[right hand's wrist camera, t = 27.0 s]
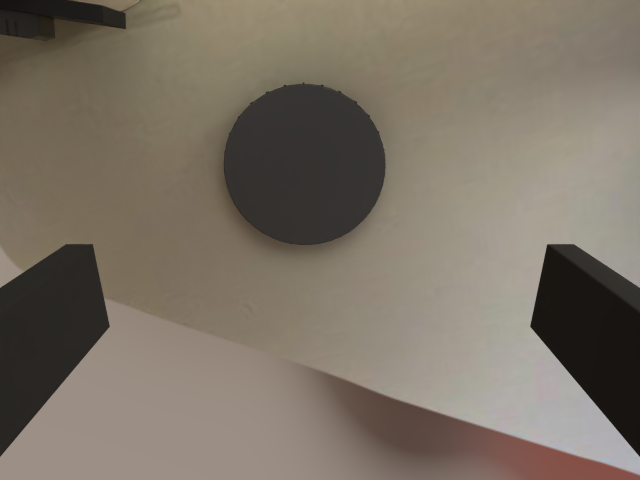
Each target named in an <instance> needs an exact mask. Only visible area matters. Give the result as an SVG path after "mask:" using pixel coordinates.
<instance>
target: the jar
mask: <svg viewBox="0 0 640 480" xmlns="http://www.w3.org/2000/svg"><path fill="white" fill-rule="evenodd" d="M71 1H78V2H84V3H91V4H98V5H103V6H106V7H109V8H112V9H114V10H117V11H123V10H125V9H127V8H129V7H131V6H133V5H135V4H136V3H137V2H138V1H140V0H71Z"/></svg>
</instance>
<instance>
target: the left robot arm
mask: <svg viewBox="0 0 640 480" xmlns="http://www.w3.org/2000/svg"><path fill="white" fill-rule="evenodd" d="M54 18H55V19H62V20H68V21H75V22H82V23H89V24H95V25H102V26H109V27H116V28H122V29H126V18H125V13H123V12H120V11H117V10H114V9H112V8H109V7H106V6H103V5H98V4H91V3H84V2H78V1H71V0H0V34H2V35H9V36H16V37H23V38H30V39H37V40H44V41H46V40H50V39H53V38H55V31H54Z"/></svg>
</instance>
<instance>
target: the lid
mask: <svg viewBox="0 0 640 480" xmlns="http://www.w3.org/2000/svg"><path fill="white" fill-rule="evenodd" d="M250 104H251V105H250V106H248V108H247V109H246V110H245V111H244V112H243V113H242V114H241V115H240V116H239V117H238V120H237V121H236V123H235V124H234V126H233V128H232V130H231V132H230V133H229V138H228V141H227V144H226V149H225V155H224V172H225V179H226V184H227V187H228V190H229V193H230V196H231V198H232V200H233V202H234V204H235V205H236V207H237V208H238V210H239V211H240V213H241V214H242V215H243V216H244V217H245V219H246V220H247V221H248V222H249V223H251V224H252V225H253V226H254V227H255V228H256V229H258V230H259V231H261V232H262V233H264V234H266V235H268V236H270V237H272V238H274V239H277V240H279V241H282V242H286V243H291V244H299V245H312V244H320V243H324V242H328V241H331V240H334V239H336V238H339V237H341V236H343V235H345V234H346V233H348V232H350V231H351V230H352V229H354V228H355V227H356V226H357V225H359V224H360V223H361V222H362V221H363V220H364V219H365V218H366V216H367V215H368V214H369V213H370V211H371V210H372V208H373V207H374V205H375V203H376V201H377V199H378V197H379V195H380V192H381V189H382V186H383V181H384V176H385V154H384V149H383V144H382V141H381V138H380V135H379V131H377V129H376V127H375V125H374V123H373V122H372V120H371V119H370V118H369V117H370V116H369V115H368V114H366V113H365V111H364V110H363V109H362V108H361V107H360V106H359V105H357V102H356V101H353V100H351V99H350V98H348V97H347V96H345V95H343V94H342V93H341V91H338V92H337V91H335V90H333V89H330V88H327V87H323V85H321V86H319V85H312V84H304V83H303V84H296V85H289V86H286V85H284V87H282V88H278V89H276V90H273V91H271V92H269V91H268V92H266V94H265V95H263V96H262V97H260V98H258V99H257V100H256V101H254V102H251V103H250Z"/></svg>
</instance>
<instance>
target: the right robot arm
mask: <svg viewBox="0 0 640 480" xmlns="http://www.w3.org/2000/svg"><path fill="white" fill-rule="evenodd" d="M109 327H110V326H109V321H108V316H107V311H106V306H105V302H104V297H103V292H102V287H101V282H100V277H99V273H98V268H97V263H96V258H95V253H94V248H93V244H66V245H64V246H63V247H61V248H60V249H58V250H57V251H55V252H54V253H52V254H51V255H49V256H48V257H46V258H45V259H43V260H42V261H40V262H39V263H37V264H36V265H34V266H33V267H31V268H30V269H28V270H27V271H25V272H24V273H22V274H21V275H19V276H18V277H16V278H15V279H13V280H12V281H10V282H9V283H7V284H6V285H4V286H2V287H1V288H0V456H1V455H2V454H3V453H4V452H5V450H6V449H7V448H8V447H9V446H10V444H11V443H12V442H13V441H14V440H15V438H16V437H17V436H18V435H19V434H20V432H21V431H22V430H23V429H24V428H25V427H26V425H27V424H28V423H29V422H30V421H31V419H32V418H33V417H34V416H35V415H36V414H37V412H38V411H39V410H40V409H41V408H42V406H43V405H44V404H45V403H46V402H47V400H48V399H49V398H50V397H51V396H52V394H53V393H54V392H55V391H56V390H57V389H58V387H59V386H60V385H61V384H62V383H63V381H64V380H65V379H66V378H67V377H68V375H69V374H70V373H71V372H72V371H73V369H74V368H75V367H76V366H77V365H78V364H79V362H80V361H81V360H82V359H83V358H84V356H85V355H86V354H87V353H88V352H89V350H90V349H91V348H92V347H93V346H94V345H95V343H96V342H97V341H98V340H99V339H100V337H101V336H102V335H103V334H104V333H105V331H106V330H107V329H108V328H109ZM530 327H531V328H532V329H533V330H534V331H535V333H536V334H537V335H538V336H539V337H540V339H541V340H542V341H543V342H544V343H545V345H546V346H547V347H548V348H549V349H550V350H551V352H552V353H553V354H554V355H555V356H556V358H557V359H558V360H559V361H560V362H561V364H562V365H563V366H564V367H565V368H566V370H567V371H568V372H569V373H570V374H571V375H572V377H573V378H574V379H575V380H576V381H577V383H578V384H579V385H580V386H581V387H582V389H583V390H584V391H585V392H586V393H587V394H588V396H589V397H590V398H591V399H592V400H593V402H594V403H595V404H596V405H597V406H598V408H599V409H600V410H601V411H602V412H603V414H604V415H605V416H606V417H607V418H608V419H609V421H610V422H611V423H612V424H613V425H614V427H615V428H616V429H617V430H618V431H619V433H620V434H621V435H622V436H623V437H624V438H625V440H626V441H627V442H628V443H629V444H630V446H631V447H632V448H633V449H634V450H635V452H636V453H637V454H638V455H639V456H640V288H639V287H638V286H636V285H634V284H633V283H631V282H630V281H628V280H627V279H625V278H624V277H622V276H621V275H619V274H618V273H616V272H615V271H613V270H612V269H610V268H609V267H607V266H606V265H604V264H603V263H601V262H600V261H598V260H597V259H595V258H594V257H592V256H591V255H589V254H588V253H586V252H585V251H583V250H582V249H580V248H579V247H577V246H576V245H574V244H547V248H546V253H545V258H544V263H543V268H542V273H541V277H540V282H539V287H538V292H537V297H536V302H535V306H534V311H533V316H532V321H531V326H530Z"/></svg>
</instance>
